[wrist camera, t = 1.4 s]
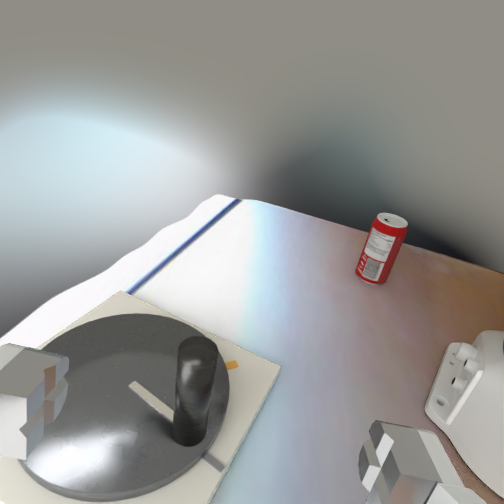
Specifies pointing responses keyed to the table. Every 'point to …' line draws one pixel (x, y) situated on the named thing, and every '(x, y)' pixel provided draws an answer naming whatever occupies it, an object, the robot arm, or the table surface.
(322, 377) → the table surface
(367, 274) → the soda can
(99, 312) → the dial base
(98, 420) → the dial
